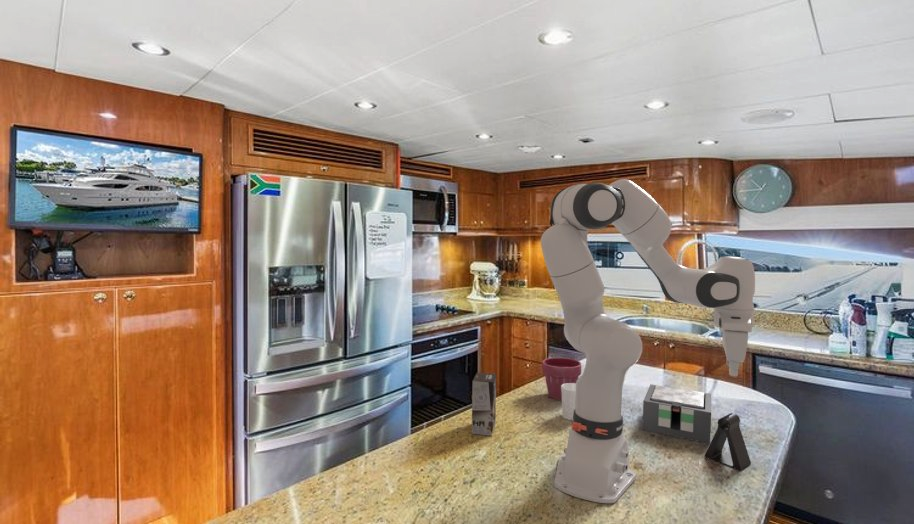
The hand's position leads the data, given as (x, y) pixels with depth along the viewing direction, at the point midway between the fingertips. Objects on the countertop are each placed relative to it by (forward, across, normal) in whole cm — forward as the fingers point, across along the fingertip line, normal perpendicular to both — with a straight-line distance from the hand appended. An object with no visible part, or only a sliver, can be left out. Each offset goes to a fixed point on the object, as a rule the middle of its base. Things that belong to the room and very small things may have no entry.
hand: (731, 370), depth 119 cm
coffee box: (+23, +14, -65) cm, 70 cm away
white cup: (+24, -8, -43) cm, 50 cm away
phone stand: (+24, +1, 0) cm, 24 cm away
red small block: (+16, -8, -13) cm, 22 cm away
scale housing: (+24, -17, -13) cm, 32 cm away
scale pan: (+15, -16, -13) cm, 25 cm away
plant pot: (+24, -26, -52) cm, 62 cm away
